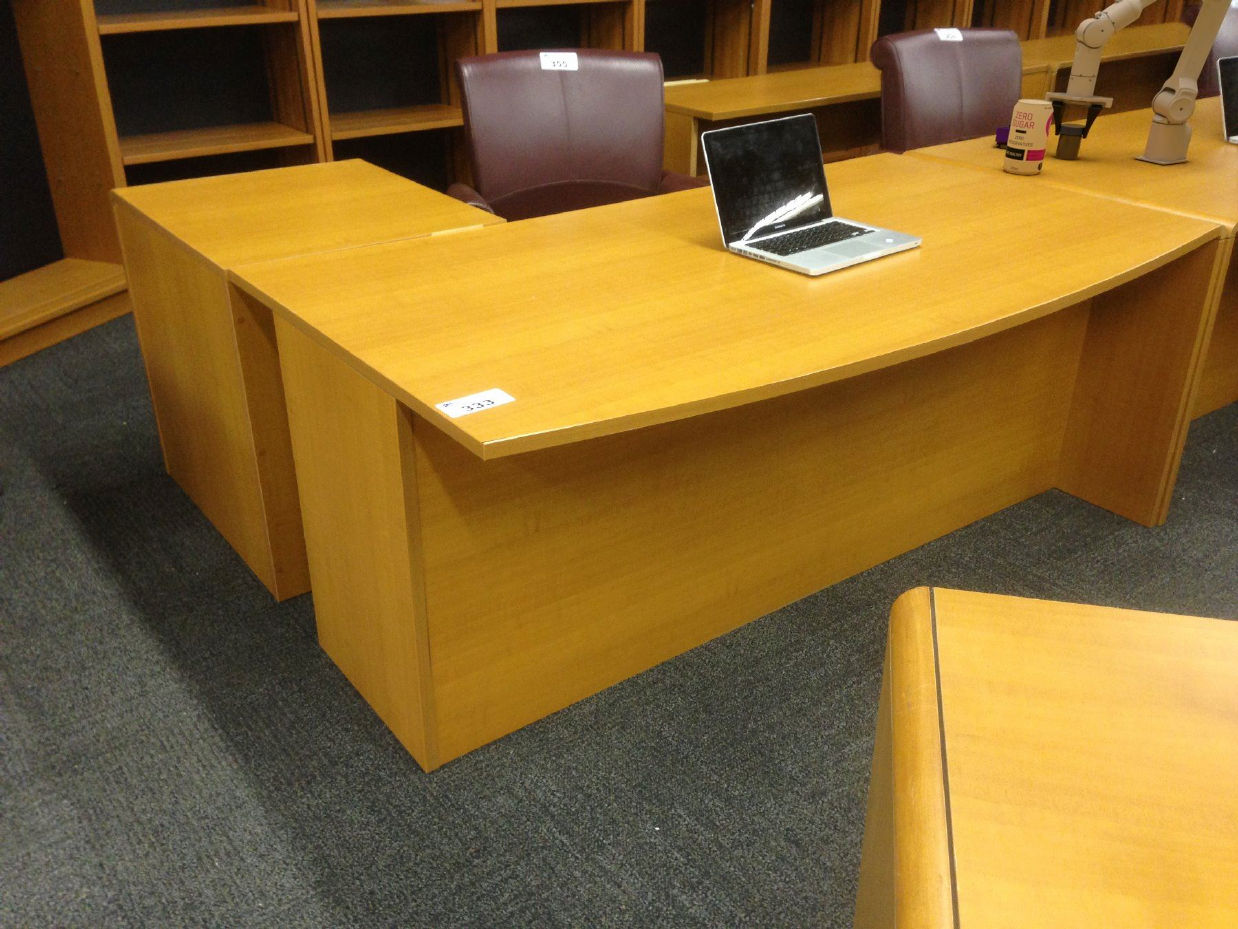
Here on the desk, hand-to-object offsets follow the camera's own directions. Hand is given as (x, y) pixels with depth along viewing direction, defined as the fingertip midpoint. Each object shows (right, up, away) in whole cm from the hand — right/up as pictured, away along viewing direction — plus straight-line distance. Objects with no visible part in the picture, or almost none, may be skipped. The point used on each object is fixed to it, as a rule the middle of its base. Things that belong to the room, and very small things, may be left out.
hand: (1070, 136), depth 247 cm
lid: (0, +2, -1) cm, 2 cm away
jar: (0, -4, +2) cm, 5 cm away
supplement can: (-16, -12, -12) cm, 23 cm away
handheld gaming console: (-6, +3, +16) cm, 17 cm away
